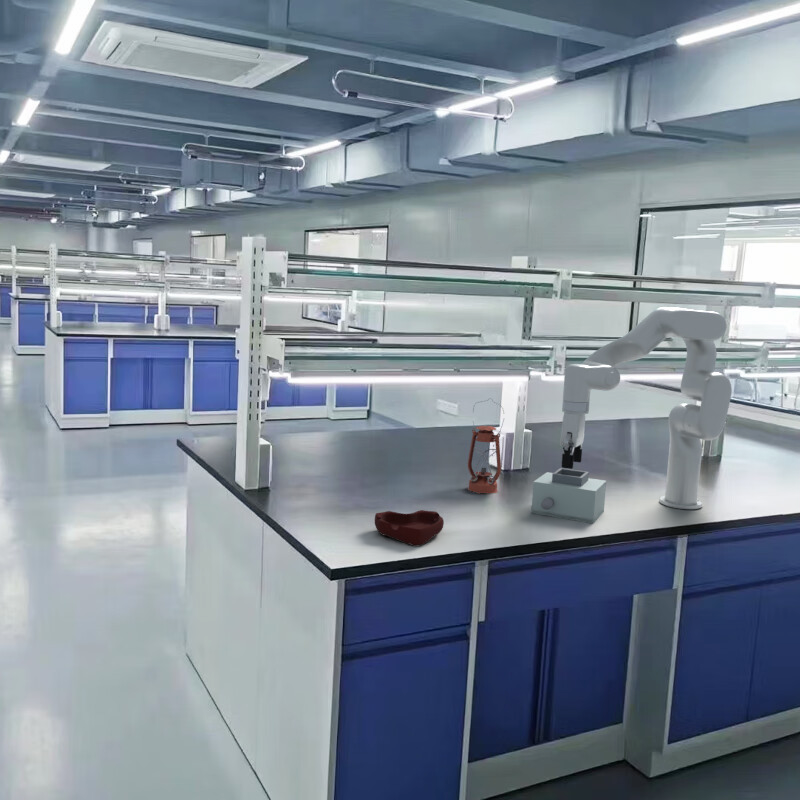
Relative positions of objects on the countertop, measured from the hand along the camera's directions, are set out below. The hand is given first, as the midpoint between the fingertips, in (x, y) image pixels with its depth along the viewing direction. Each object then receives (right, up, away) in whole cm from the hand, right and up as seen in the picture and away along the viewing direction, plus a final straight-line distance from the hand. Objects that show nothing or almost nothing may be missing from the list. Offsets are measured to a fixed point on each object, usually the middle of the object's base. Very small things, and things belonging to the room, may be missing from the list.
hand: (571, 464), depth 227 cm
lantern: (-23, -10, +23) cm, 35 cm away
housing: (-1, -14, +1) cm, 14 cm away
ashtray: (-47, -17, -26) cm, 56 cm away
